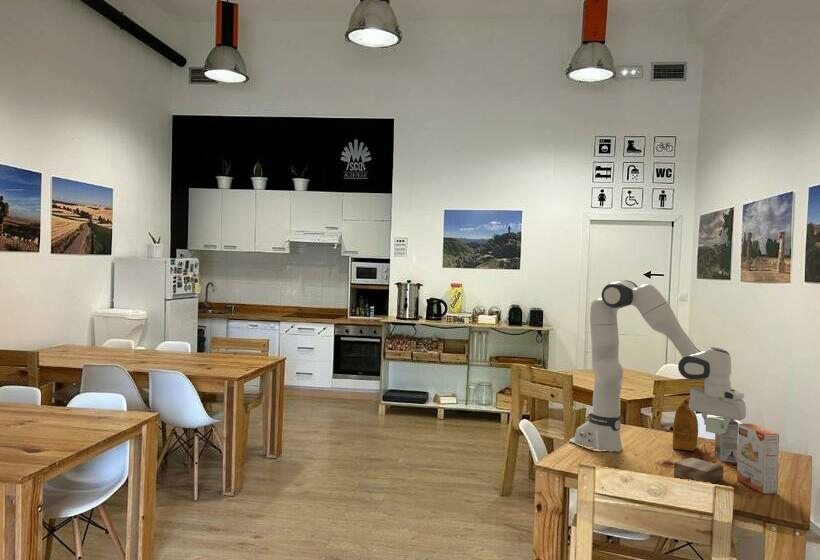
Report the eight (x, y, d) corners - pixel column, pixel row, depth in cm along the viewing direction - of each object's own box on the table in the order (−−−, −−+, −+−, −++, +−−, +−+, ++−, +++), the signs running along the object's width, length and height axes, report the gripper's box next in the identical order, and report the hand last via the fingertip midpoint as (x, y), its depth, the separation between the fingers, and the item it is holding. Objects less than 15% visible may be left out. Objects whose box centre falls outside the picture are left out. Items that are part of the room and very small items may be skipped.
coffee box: (713, 454, 249) (714, 416, 249) (730, 456, 248) (731, 417, 247) (720, 461, 240) (721, 421, 240) (737, 462, 239) (739, 422, 238)
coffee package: (701, 447, 259) (702, 396, 259) (694, 453, 249) (696, 401, 249) (676, 443, 265) (678, 393, 265) (669, 449, 256) (670, 397, 255)
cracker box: (735, 480, 218) (737, 422, 218) (751, 480, 218) (753, 423, 218) (761, 494, 204) (763, 433, 204) (778, 494, 204) (780, 433, 204)
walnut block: (673, 476, 221) (674, 462, 220) (690, 470, 228) (691, 457, 228) (706, 485, 211) (706, 471, 211) (722, 479, 218) (723, 465, 218)
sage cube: (705, 431, 229) (706, 418, 229) (712, 429, 232) (712, 416, 232) (718, 434, 225) (719, 421, 225) (725, 432, 228) (725, 419, 228)
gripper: (686, 386, 235) (684, 421, 235) (740, 396, 218) (739, 434, 218) (694, 385, 238) (693, 419, 239) (748, 394, 222) (747, 432, 222)
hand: (715, 426), depth 228 cm, fingers closed on sage cube, 5 cm apart
